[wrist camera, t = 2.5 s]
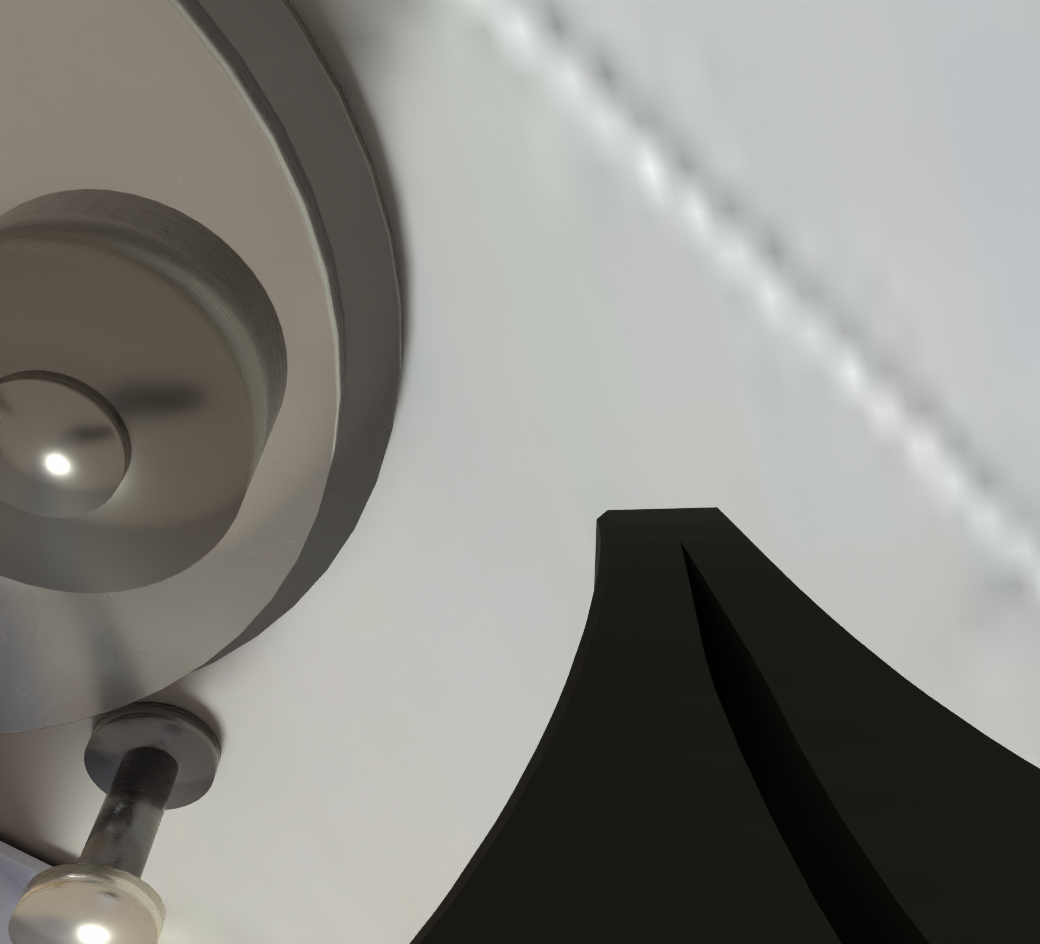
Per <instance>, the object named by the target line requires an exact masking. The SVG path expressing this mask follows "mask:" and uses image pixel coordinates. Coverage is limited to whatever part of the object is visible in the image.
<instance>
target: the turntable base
mask: <svg viewBox="0 0 1040 944" xmlns="http://www.w3.org/2000/svg"><path fill="white" fill-rule="evenodd" d="M198 1H199V3H200V4H201V5H202V6H203V8H204V9H205V10H206V12H207V13H208V14H209V15H210V17H211V18H212V19H213V21H214V22H215V23H216V25H217V26H218V27H219V28H220V30H221V31H222V32H223V34H224V35H225V36H226V37H227V39H228V40H229V41H230V43H231V44H232V45H233V46H234V48H235V49H236V50H237V52H238V53H239V54H240V55H241V57H242V58H243V60H244V61H245V63H246V65H247V66H248V68H249V70H250V71H251V73H252V74H253V76H254V78H255V79H256V81H257V83H258V84H259V86H260V88H261V89H262V91H263V93H264V94H265V96H266V97H267V99H268V101H269V102H270V104H271V106H272V107H273V109H274V111H275V112H276V114H277V115H278V117H279V119H280V120H281V122H282V124H283V125H284V128H285V130H286V132H287V134H288V136H289V139H290V141H291V143H292V145H293V147H294V149H295V152H296V154H297V156H298V158H299V160H300V163H301V165H302V167H303V169H304V171H305V173H306V176H307V178H308V180H309V182H310V184H311V187H312V189H313V191H314V194H315V197H316V200H317V204H318V207H319V210H320V213H321V216H322V219H323V222H324V226H325V229H326V232H327V235H328V238H329V241H330V245H331V248H332V251H333V254H334V259H335V265H336V270H337V276H338V281H339V287H340V292H341V298H342V304H343V309H344V315H345V337H346V362H347V377H346V386H345V396H344V405H343V415H342V424H341V429H340V433H339V437H338V440H337V444H336V448H335V452H334V456H333V459H332V463H331V467H330V471H329V475H328V478H327V482H326V485H325V489H324V493H323V496H322V500H321V503H320V507H319V511H318V514H317V516H316V519H315V521H314V523H313V525H312V528H311V530H310V532H309V534H308V537H307V539H306V541H305V544H304V546H303V548H302V550H301V553H300V555H299V557H298V559H297V561H296V562H295V564H294V566H293V567H292V569H291V570H290V572H289V573H288V575H287V576H286V578H285V579H284V581H283V582H282V584H281V586H280V587H279V589H278V590H277V592H276V593H275V595H274V596H273V598H272V599H271V601H270V602H269V603H268V604H267V605H266V606H265V607H264V608H263V609H262V611H261V612H260V613H259V614H258V615H257V616H256V617H255V618H254V619H253V621H252V622H251V623H250V624H249V625H248V626H247V627H246V628H245V629H244V631H243V632H242V633H241V634H240V635H239V636H238V637H236V638H235V639H234V640H233V641H231V642H230V643H229V644H228V645H227V646H225V647H224V648H223V649H222V650H220V651H219V652H218V653H217V654H216V655H214V656H213V657H212V658H211V659H209V660H208V661H207V662H206V663H205V664H203V665H202V666H200V667H198V668H197V669H195V670H198V669H200V668H202V667H204V666H207V665H209V664H211V663H213V662H215V661H217V660H218V659H220V658H222V657H223V656H225V655H227V654H228V653H230V652H232V651H233V650H235V649H237V648H238V647H240V646H242V645H243V644H245V643H247V642H248V641H250V640H252V639H253V638H255V637H256V636H258V635H259V634H260V633H261V632H262V631H264V630H265V629H266V628H267V627H269V626H270V625H271V624H272V623H274V622H275V621H276V620H277V619H278V618H280V617H281V616H282V615H283V614H285V613H286V612H287V611H288V610H290V609H291V608H292V607H293V606H294V605H295V604H296V603H297V602H298V601H299V600H300V599H301V598H302V596H303V595H304V594H305V593H306V592H307V591H308V590H309V589H310V588H311V587H312V586H313V585H314V583H315V582H316V581H317V580H318V579H319V578H320V577H321V576H322V575H323V574H324V573H325V571H326V570H327V569H328V567H329V566H330V564H331V563H332V561H333V560H334V558H335V557H336V556H337V554H338V553H339V551H340V550H341V548H342V547H343V545H344V544H345V542H346V541H347V539H348V538H349V536H350V535H351V533H352V532H353V530H354V529H355V527H356V525H357V522H358V520H359V518H360V516H361V514H362V512H363V510H364V507H365V505H366V503H367V501H368V499H369V497H370V495H371V493H372V490H373V488H374V486H375V484H376V482H377V479H378V475H379V472H380V468H381V465H382V461H383V458H384V455H385V451H386V448H387V444H388V441H389V438H390V434H391V431H392V426H393V421H394V415H395V408H396V400H397V393H398V386H399V378H400V371H401V364H402V297H401V290H400V283H399V277H398V270H397V263H396V256H395V249H394V242H393V235H392V230H391V227H390V223H389V220H388V216H387V213H386V209H385V205H384V202H383V198H382V195H381V191H380V188H379V184H378V181H377V177H376V174H375V170H374V166H373V163H372V161H371V158H370V156H369V153H368V151H367V149H366V146H365V144H364V142H363V139H362V137H361V134H360V132H359V130H358V127H357V125H356V123H355V120H354V118H353V115H352V113H351V111H350V108H349V106H348V104H347V101H346V99H345V96H344V94H343V92H342V90H341V88H340V86H339V85H338V83H337V81H336V79H335V78H334V76H333V74H332V72H331V70H330V69H329V67H328V65H327V63H326V62H325V60H324V58H323V56H322V55H321V53H320V51H319V49H318V48H317V46H316V44H315V42H314V41H313V39H312V37H311V35H310V34H309V32H308V30H307V28H306V26H305V25H304V23H303V21H302V19H301V18H300V16H299V15H298V14H297V12H296V11H295V10H294V8H293V7H292V6H291V4H290V3H289V1H288V0H198ZM195 670H193V671H195ZM193 671H192V672H193ZM190 673H191V672H190Z"/></svg>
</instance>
